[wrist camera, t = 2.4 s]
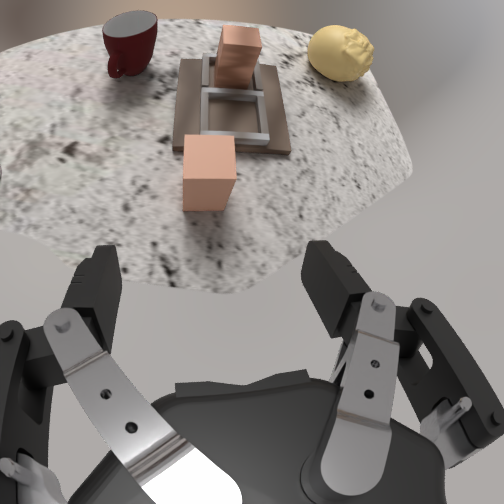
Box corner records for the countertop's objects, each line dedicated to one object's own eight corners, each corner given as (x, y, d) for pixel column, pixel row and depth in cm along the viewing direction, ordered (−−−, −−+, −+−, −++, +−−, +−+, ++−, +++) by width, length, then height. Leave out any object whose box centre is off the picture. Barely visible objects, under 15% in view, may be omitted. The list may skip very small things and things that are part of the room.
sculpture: (346, 99, 45) (376, 62, 35) (291, 64, 44) (313, 22, 34) (362, 75, 48) (388, 43, 38) (314, 44, 47) (335, 8, 37)
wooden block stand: (172, 151, 35) (171, 101, 25) (180, 63, 39) (184, 16, 29) (288, 155, 39) (317, 112, 29) (274, 70, 42) (292, 28, 33)
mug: (145, 96, 36) (141, 47, 26) (97, 95, 34) (85, 49, 25) (163, 55, 38) (164, 10, 29) (119, 54, 37) (114, 11, 27)
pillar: (182, 211, 34) (183, 178, 25) (183, 174, 35) (184, 134, 26) (223, 210, 35) (236, 178, 27) (222, 174, 36) (234, 135, 28)
